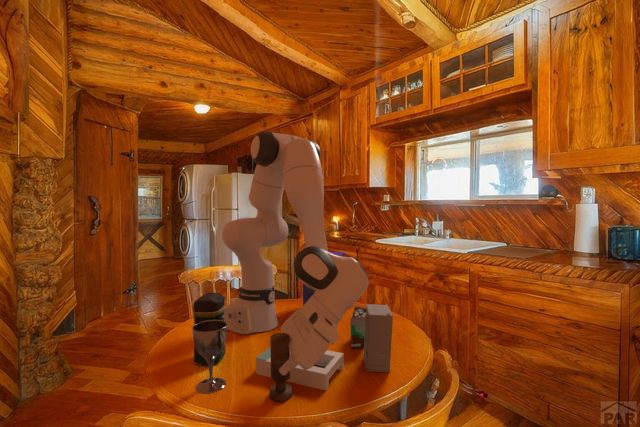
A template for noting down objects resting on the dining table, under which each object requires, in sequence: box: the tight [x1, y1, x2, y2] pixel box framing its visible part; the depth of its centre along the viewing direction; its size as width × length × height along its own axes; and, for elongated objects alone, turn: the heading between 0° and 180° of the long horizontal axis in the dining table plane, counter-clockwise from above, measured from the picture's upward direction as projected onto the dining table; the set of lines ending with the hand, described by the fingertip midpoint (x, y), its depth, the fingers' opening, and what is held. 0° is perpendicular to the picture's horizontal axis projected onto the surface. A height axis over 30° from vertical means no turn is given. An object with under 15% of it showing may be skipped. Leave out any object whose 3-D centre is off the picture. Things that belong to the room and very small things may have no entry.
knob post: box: [268, 332, 293, 403], centre depth 80 cm, size 5×5×14 cm
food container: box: [349, 305, 366, 350], centre depth 108 cm, size 12×6×10 cm, turn 168°
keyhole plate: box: [255, 347, 345, 392], centre depth 91 cm, size 20×12×4 cm, turn 66°
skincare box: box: [362, 303, 394, 373], centre depth 94 cm, size 8×7×16 cm
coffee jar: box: [192, 292, 226, 366], centre depth 98 cm, size 10×8×19 cm
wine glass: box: [192, 320, 228, 395], centre depth 84 cm, size 8×8×15 cm
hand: (277, 363), depth 80 cm, fingers open, 7 cm apart
